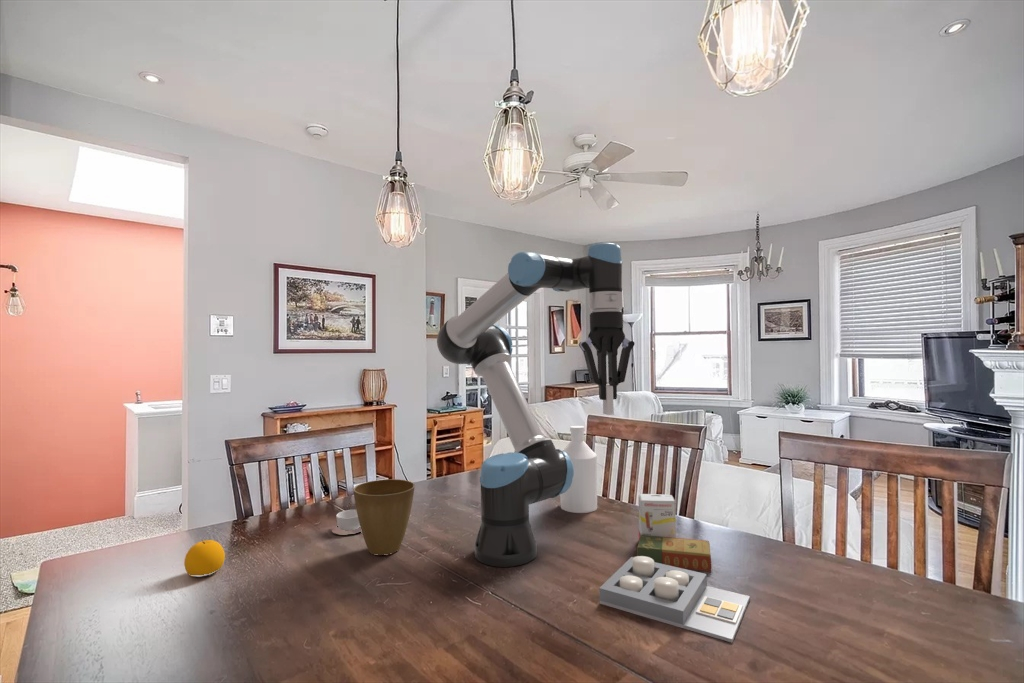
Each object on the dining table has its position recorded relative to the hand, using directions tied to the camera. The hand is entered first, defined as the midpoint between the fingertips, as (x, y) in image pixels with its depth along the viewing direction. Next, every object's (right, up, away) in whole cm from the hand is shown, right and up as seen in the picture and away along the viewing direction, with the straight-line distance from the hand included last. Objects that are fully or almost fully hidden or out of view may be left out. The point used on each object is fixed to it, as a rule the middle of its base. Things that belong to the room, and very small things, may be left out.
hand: (608, 413), depth 115 cm
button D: (+11, -33, -14) cm, 38 cm away
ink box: (+14, -35, +11) cm, 39 cm away
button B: (+5, -32, -10) cm, 34 cm away
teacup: (-67, -37, +25) cm, 81 cm away
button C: (+7, -32, -20) cm, 38 cm away
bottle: (-1, -35, +41) cm, 54 cm away
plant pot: (-54, -36, +10) cm, 65 cm away
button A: (+1, -33, -16) cm, 37 cm away
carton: (+15, -35, +1) cm, 38 cm away
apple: (-92, -37, -1) cm, 99 cm away
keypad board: (+10, -34, -17) cm, 39 cm away
